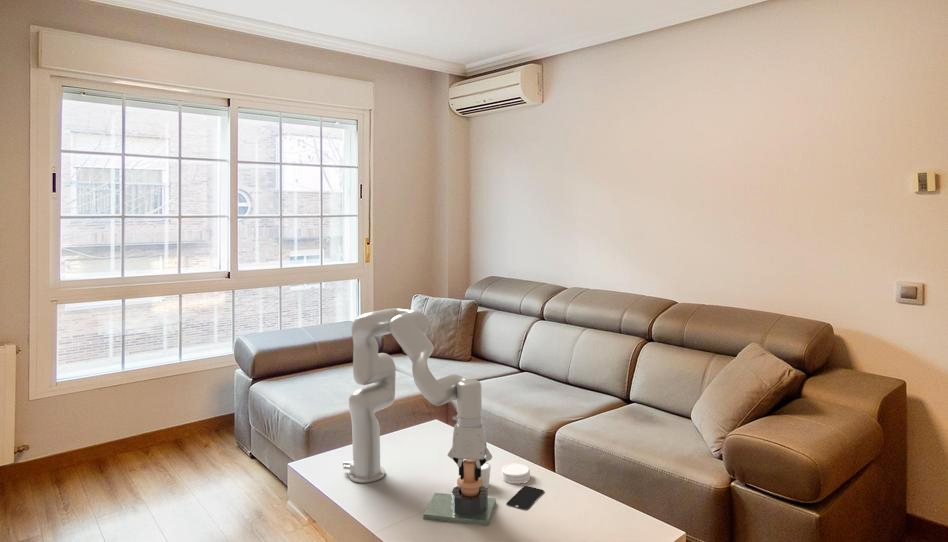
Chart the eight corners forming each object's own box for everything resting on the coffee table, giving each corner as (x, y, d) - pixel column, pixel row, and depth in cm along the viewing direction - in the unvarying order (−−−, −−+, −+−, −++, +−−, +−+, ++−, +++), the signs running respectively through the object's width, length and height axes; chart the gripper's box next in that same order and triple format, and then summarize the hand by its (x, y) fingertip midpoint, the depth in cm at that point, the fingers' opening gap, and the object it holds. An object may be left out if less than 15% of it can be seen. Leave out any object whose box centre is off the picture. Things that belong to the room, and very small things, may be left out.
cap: (454, 497, 176) (454, 466, 175) (460, 485, 184) (459, 455, 183) (480, 500, 174) (480, 468, 174) (485, 488, 182) (484, 457, 181)
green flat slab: (423, 519, 176) (422, 498, 175) (435, 497, 189) (435, 478, 189) (488, 525, 172) (488, 504, 171) (495, 502, 185) (495, 483, 185)
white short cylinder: (531, 473, 207) (531, 464, 206) (528, 486, 197) (528, 476, 197) (504, 471, 209) (504, 461, 209) (499, 483, 199) (499, 473, 199)
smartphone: (504, 504, 184) (524, 485, 197) (504, 506, 184) (524, 487, 197) (526, 510, 180) (545, 490, 193) (526, 512, 180) (545, 492, 193)
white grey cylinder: (488, 491, 193) (488, 470, 193) (468, 489, 195) (468, 469, 194) (492, 481, 200) (492, 462, 199) (472, 480, 201) (472, 460, 201)
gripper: (439, 423, 175) (440, 481, 177) (494, 426, 172) (494, 486, 173) (445, 414, 182) (446, 471, 184) (498, 418, 179) (498, 475, 181)
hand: (470, 477), depth 179 cm, fingers closed on cap, 4 cm apart
